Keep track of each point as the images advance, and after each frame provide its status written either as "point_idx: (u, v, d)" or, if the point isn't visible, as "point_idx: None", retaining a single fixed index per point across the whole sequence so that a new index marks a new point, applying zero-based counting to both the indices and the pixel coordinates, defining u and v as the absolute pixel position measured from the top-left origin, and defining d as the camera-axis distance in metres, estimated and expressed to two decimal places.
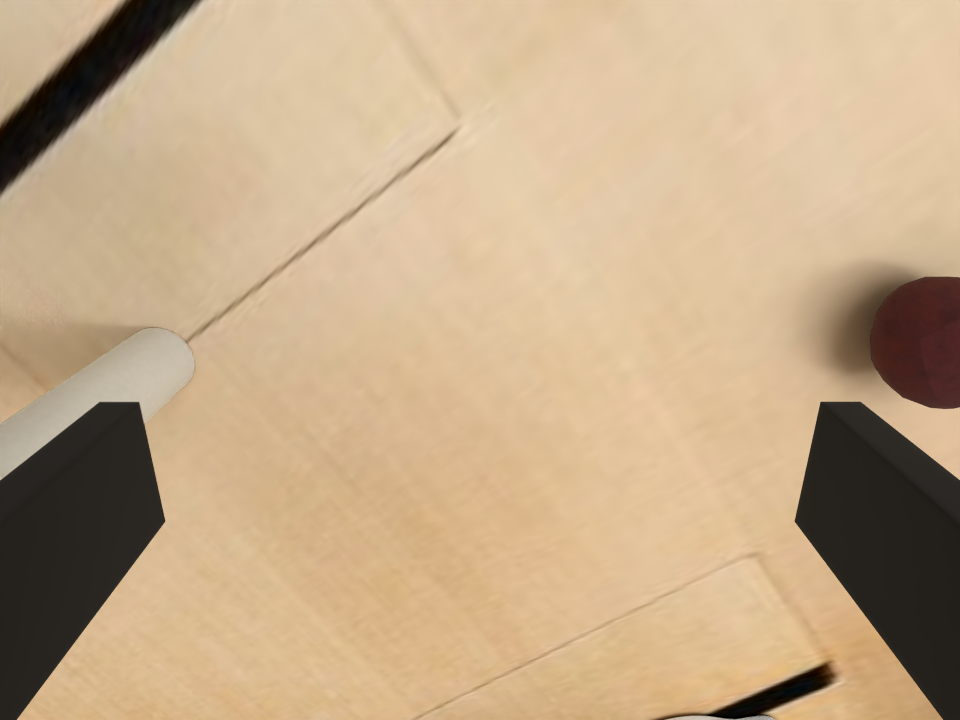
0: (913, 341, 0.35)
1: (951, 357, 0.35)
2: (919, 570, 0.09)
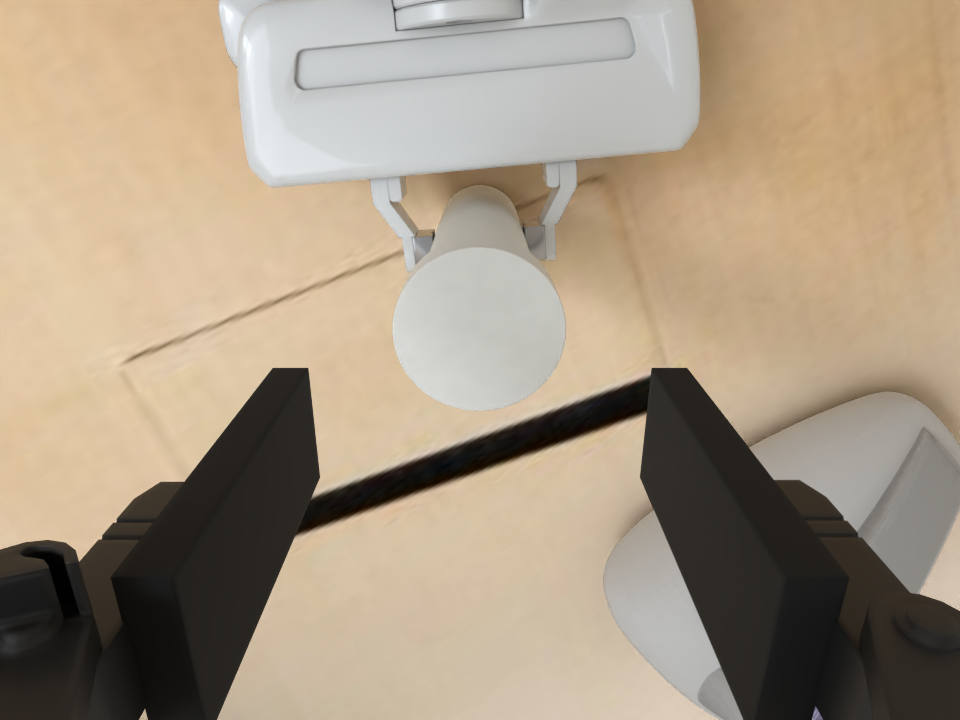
0: None
1: None
2: (694, 504, 0.11)
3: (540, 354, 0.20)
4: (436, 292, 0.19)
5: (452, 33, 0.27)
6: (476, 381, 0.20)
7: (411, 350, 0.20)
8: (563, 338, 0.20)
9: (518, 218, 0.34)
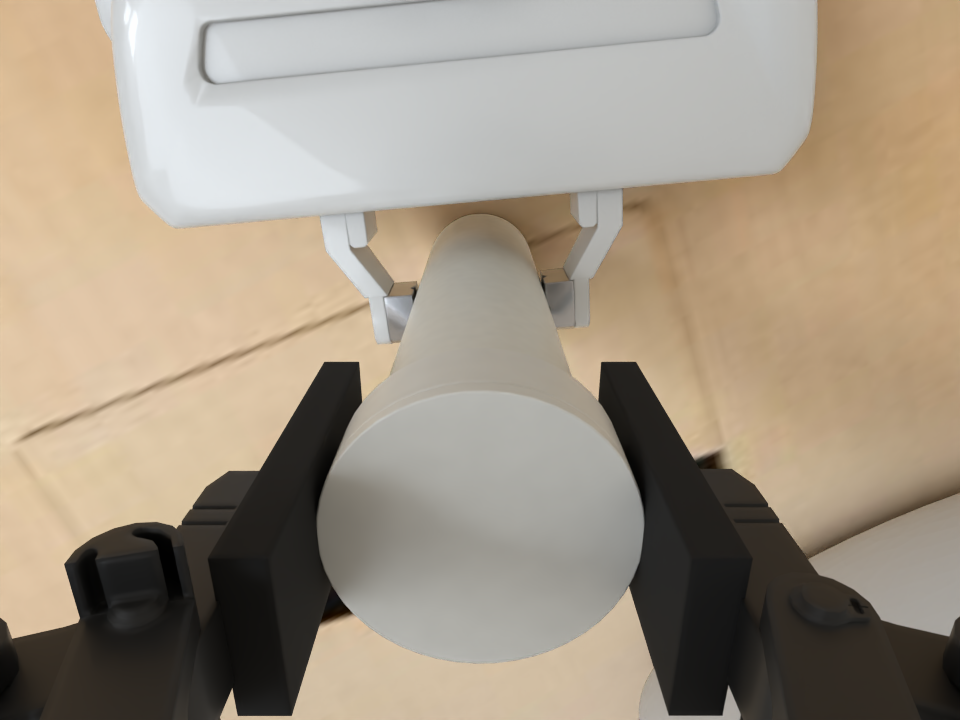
0: None
1: None
2: None
3: (596, 575, 0.11)
4: (397, 471, 0.10)
5: None
6: (475, 618, 0.11)
7: (353, 568, 0.11)
8: (639, 548, 0.11)
9: None
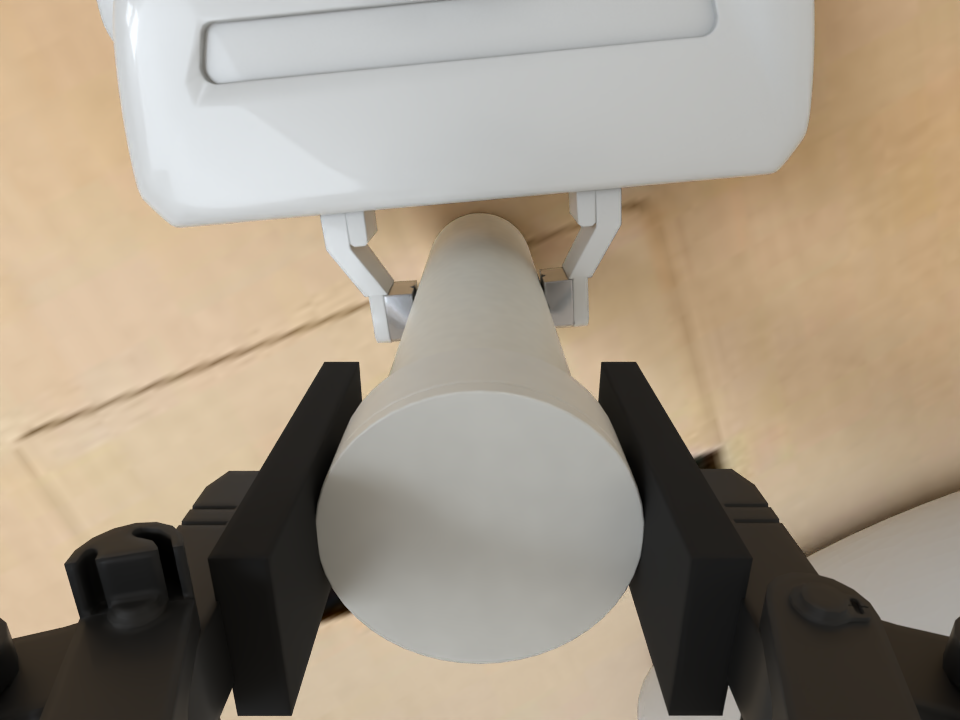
0: None
1: None
2: None
3: (577, 468, 0.10)
4: (373, 566, 0.11)
5: None
6: (562, 581, 0.11)
7: (451, 641, 0.11)
8: (571, 418, 0.10)
9: (533, 262, 0.24)
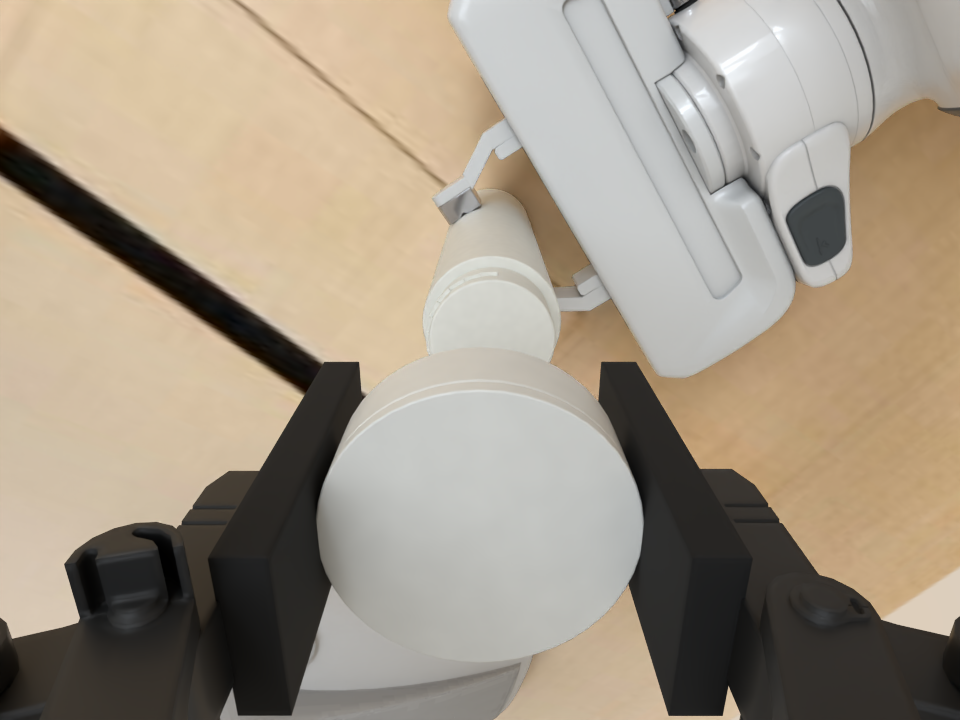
0: None
1: None
2: None
3: (577, 467, 0.10)
4: (374, 565, 0.11)
5: (673, 137, 0.27)
6: (562, 580, 0.11)
7: (451, 639, 0.11)
8: (571, 417, 0.10)
9: None
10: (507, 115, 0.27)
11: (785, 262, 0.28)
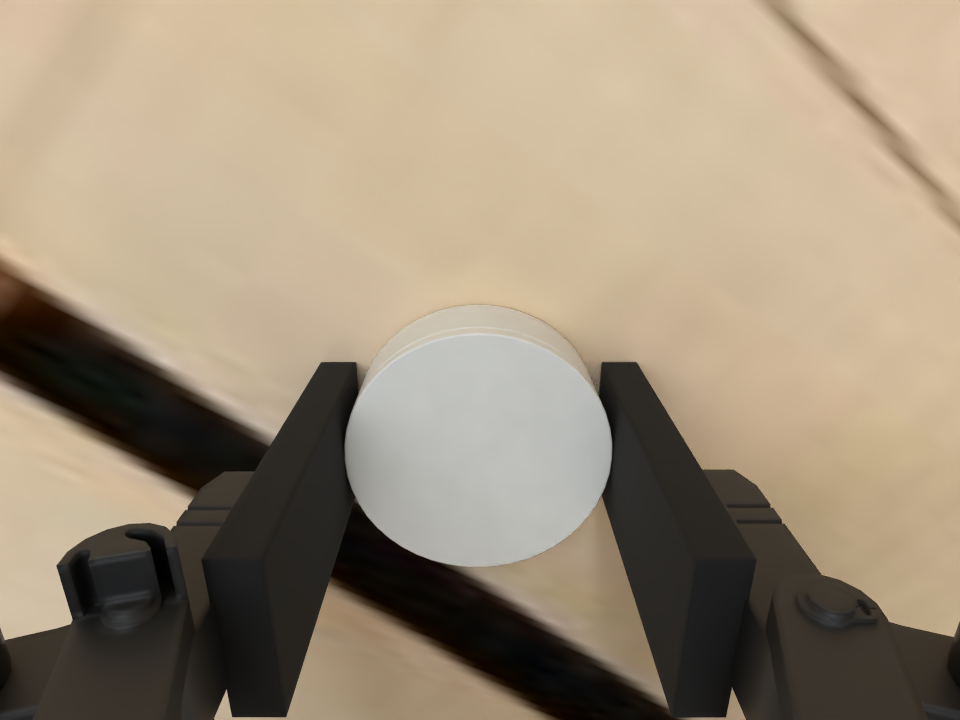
0: None
1: None
2: (632, 493, 0.11)
3: (557, 397, 0.12)
4: (392, 482, 0.13)
5: None
6: (546, 494, 0.13)
7: (455, 547, 0.14)
8: (552, 355, 0.12)
9: None
10: None
11: None
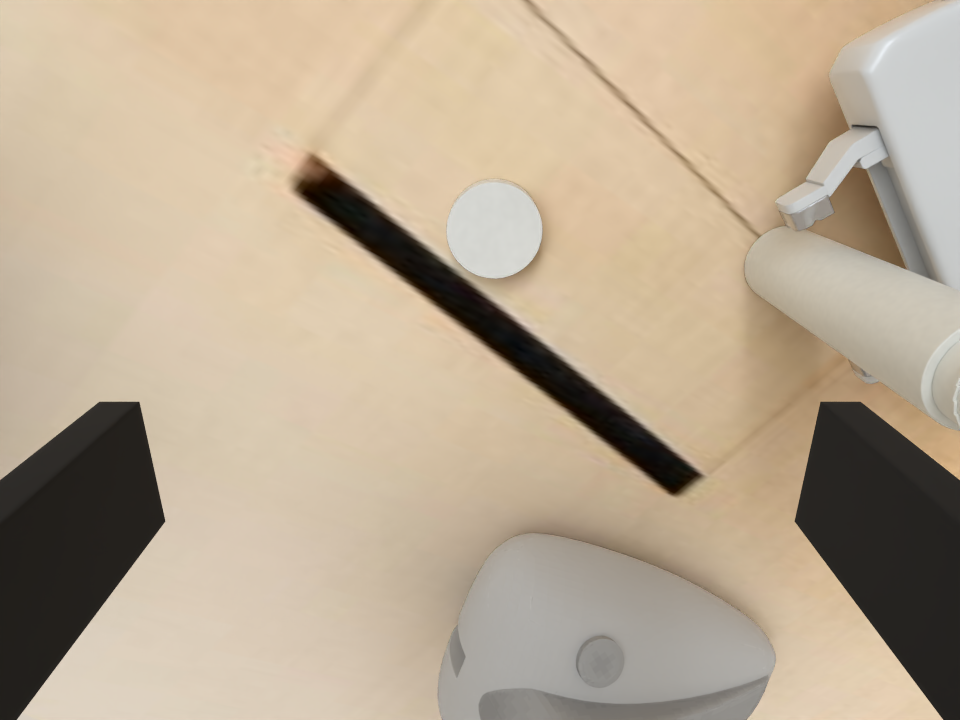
0: None
1: None
2: (919, 570, 0.09)
3: (522, 207, 0.35)
4: (463, 241, 0.36)
5: None
6: (519, 246, 0.36)
7: (485, 269, 0.37)
8: (520, 190, 0.35)
9: None
10: (900, 162, 0.29)
11: None
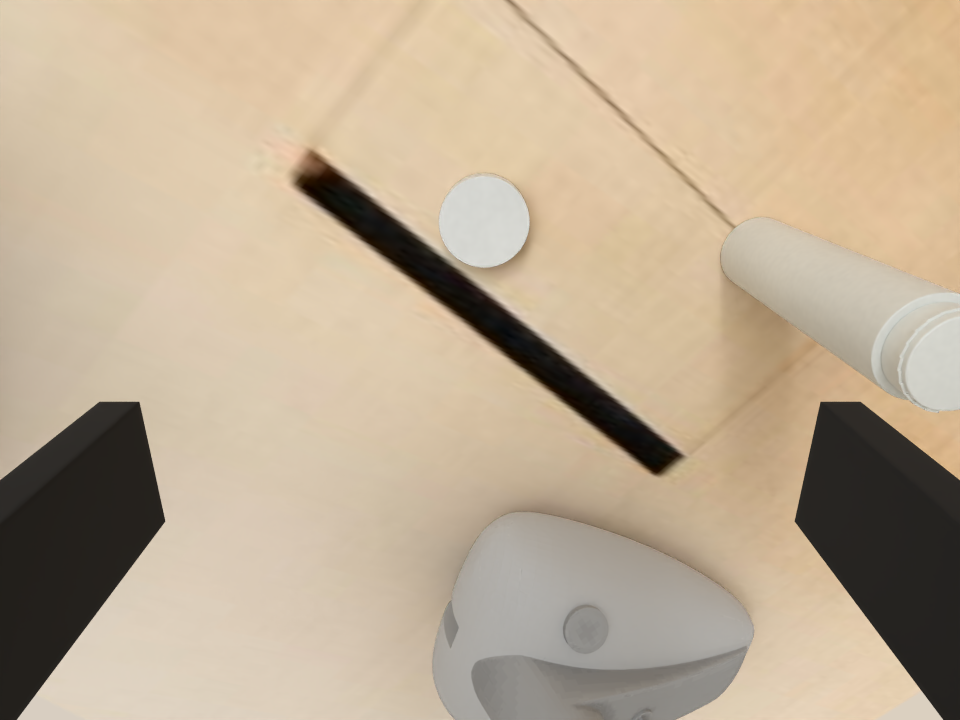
0: None
1: None
2: (919, 570, 0.09)
3: (510, 199, 0.37)
4: (454, 232, 0.38)
5: None
6: (507, 237, 0.38)
7: (476, 258, 0.39)
8: (508, 184, 0.37)
9: None
10: None
11: None
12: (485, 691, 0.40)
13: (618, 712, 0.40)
